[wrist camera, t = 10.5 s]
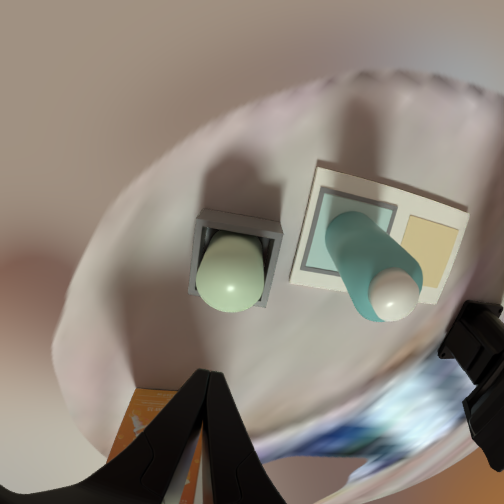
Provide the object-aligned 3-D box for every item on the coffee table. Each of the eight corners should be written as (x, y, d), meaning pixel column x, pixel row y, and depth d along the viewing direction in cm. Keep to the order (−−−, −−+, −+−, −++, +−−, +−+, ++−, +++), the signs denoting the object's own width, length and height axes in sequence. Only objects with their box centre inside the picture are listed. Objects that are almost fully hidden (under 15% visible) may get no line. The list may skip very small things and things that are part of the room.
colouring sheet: (467, 212, 18) (470, 214, 18) (433, 302, 21) (436, 305, 21) (316, 166, 18) (318, 167, 17) (288, 280, 21) (289, 284, 20)
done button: (267, 231, 19) (270, 258, 15) (256, 280, 20) (257, 317, 16) (211, 221, 19) (199, 246, 15) (205, 271, 20) (193, 306, 16)
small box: (212, 388, 25) (194, 517, 13) (223, 425, 27) (213, 534, 15) (133, 386, 25) (92, 495, 13) (153, 422, 28) (126, 520, 16)
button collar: (280, 222, 19) (283, 233, 17) (264, 289, 21) (265, 307, 19) (203, 208, 19) (196, 218, 17) (194, 277, 21) (187, 294, 18)
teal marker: (381, 216, 18) (443, 267, 11) (367, 266, 20) (414, 335, 12) (331, 206, 18) (373, 255, 11) (319, 258, 19) (347, 331, 12)
